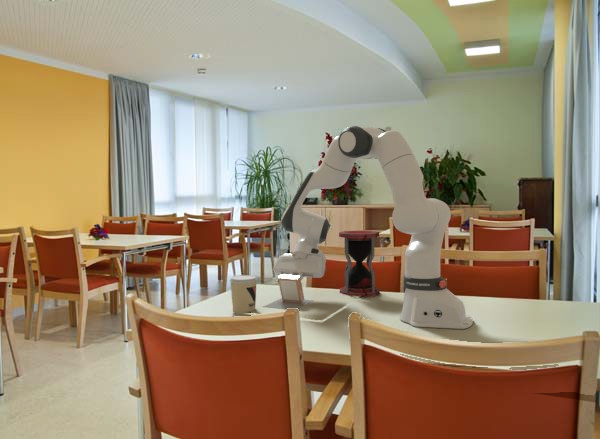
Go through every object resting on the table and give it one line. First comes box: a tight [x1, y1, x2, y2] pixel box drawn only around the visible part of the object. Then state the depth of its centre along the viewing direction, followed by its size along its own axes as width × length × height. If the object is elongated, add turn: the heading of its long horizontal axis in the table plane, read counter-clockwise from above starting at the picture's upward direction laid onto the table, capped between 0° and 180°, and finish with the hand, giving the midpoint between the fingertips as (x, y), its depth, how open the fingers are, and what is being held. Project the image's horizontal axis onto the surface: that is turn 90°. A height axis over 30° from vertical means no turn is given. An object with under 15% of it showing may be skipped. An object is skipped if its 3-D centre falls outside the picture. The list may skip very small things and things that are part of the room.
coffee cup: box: [229, 274, 258, 315], centre depth 180 cm, size 9×9×12 cm
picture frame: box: [277, 274, 305, 303], centre depth 188 cm, size 8×3×10 cm, turn 64°
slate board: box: [262, 297, 314, 310], centre depth 187 cm, size 13×16×1 cm
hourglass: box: [338, 230, 381, 298], centre depth 205 cm, size 16×16×25 cm
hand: (293, 284), depth 190 cm, fingers closed
